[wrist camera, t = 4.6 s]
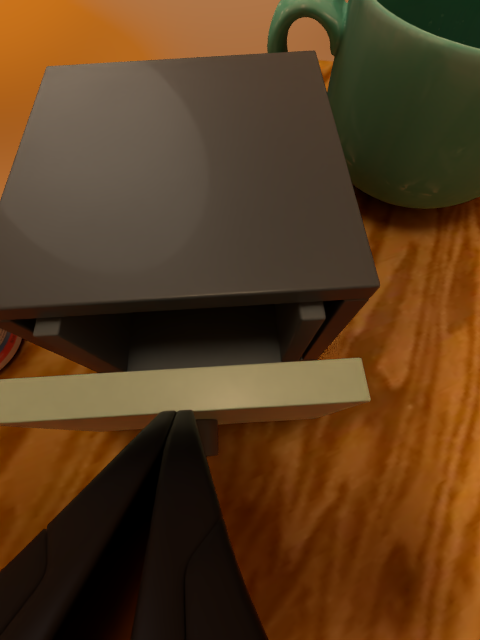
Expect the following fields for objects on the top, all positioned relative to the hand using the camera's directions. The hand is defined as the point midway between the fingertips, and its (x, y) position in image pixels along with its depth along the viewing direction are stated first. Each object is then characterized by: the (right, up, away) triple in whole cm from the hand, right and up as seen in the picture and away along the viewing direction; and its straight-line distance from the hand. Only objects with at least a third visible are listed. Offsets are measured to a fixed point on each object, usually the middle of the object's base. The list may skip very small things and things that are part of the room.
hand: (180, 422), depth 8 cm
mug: (+12, +15, +14) cm, 23 cm away
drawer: (0, +2, +8) cm, 8 cm away
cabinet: (0, +5, +10) cm, 12 cm away
